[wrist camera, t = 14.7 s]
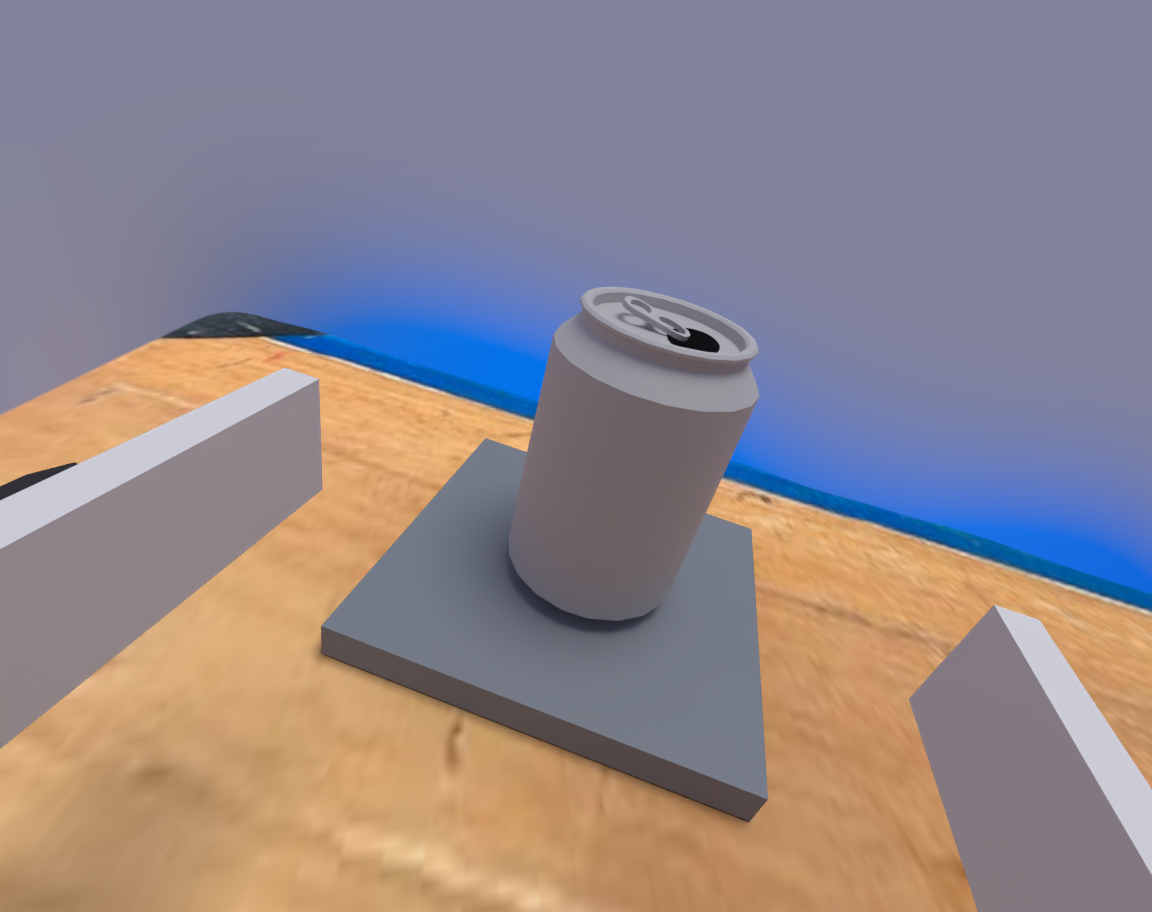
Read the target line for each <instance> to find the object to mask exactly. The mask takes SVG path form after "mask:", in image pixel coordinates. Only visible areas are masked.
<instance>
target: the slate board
mask: <svg viewBox="0 0 1152 912" xmlns="http://www.w3.org/2000/svg"><path fill="white" fill-rule="evenodd" d="M526 456H527V452H524V451H521V450H518V449H515V448H513V447H510V446H507V445H504V444H501V443H498V442H495V441H492V440H489V439H485V440H484V441H483V442H482V443H481V444H480V445H479V447H478V448H477V449H476V450H475V451H474V452H473V453H472V454H471V456H470V457H469V458H468V459H467V460H466V461H465V462H464V464H463V465H462V466H461V467H460V468H459V469H458V470H457V472H456V473H455V474H454V475H453V476H452V477H451V478H450V480H449V481H448V482H447V483H446V484H445V485H444V486H443V488H442V489H441V490H440V491H439V492H438V493H437V494H436V496H435V497H434V498H433V499H432V500H431V501H430V502H429V504H428V505H427V506H426V507H425V508H424V509H423V510H422V512H421V513H420V514H419V515H418V516H417V517H416V518H415V520H414V521H413V522H412V523H411V524H410V525H409V526H408V528H407V529H406V530H405V531H404V532H403V533H402V534H401V536H400V537H399V538H398V539H397V540H396V541H395V542H394V544H393V545H392V546H391V547H390V548H389V549H388V550H387V552H386V553H385V554H384V555H383V556H382V557H381V558H380V560H379V561H378V562H377V563H376V564H375V565H374V566H373V568H372V569H371V570H370V571H369V572H368V573H367V574H366V576H365V577H364V578H363V579H362V580H361V581H360V582H359V584H358V585H357V586H356V587H355V588H354V589H353V590H352V591H351V593H350V594H349V595H348V596H347V597H346V598H345V599H344V601H343V602H342V603H341V604H340V605H339V606H338V607H337V609H336V610H335V611H334V612H333V613H332V614H331V615H330V617H329V618H328V619H327V620H326V621H325V622H324V623H323V625H322V626H321V642H322V654H324V655H327V656H329V657H332V658H335V659H337V660H340V661H342V662H345V663H347V664H350V665H352V666H355V667H357V668H360V669H363V670H365V671H368V672H370V673H373V674H375V675H378V676H380V677H383V678H385V679H388V680H391V681H393V682H396V683H398V684H401V685H403V686H406V687H408V688H411V689H413V690H416V691H419V692H421V693H424V694H426V695H429V696H431V697H434V698H436V699H439V700H441V701H444V702H446V703H449V704H452V705H454V706H457V707H459V708H462V709H464V710H467V711H469V712H472V713H474V714H477V715H480V716H482V717H485V718H487V719H490V720H492V721H495V722H497V723H500V724H502V725H505V726H508V727H510V728H513V729H515V730H518V731H520V732H523V733H525V734H528V735H530V736H533V737H536V738H538V739H541V740H543V741H546V742H548V743H551V744H553V745H556V746H558V747H561V748H563V749H566V750H569V751H571V752H574V753H576V754H579V755H581V756H584V757H586V758H589V759H591V760H594V761H597V762H599V763H602V764H604V765H607V766H609V767H612V768H614V769H617V770H619V771H622V772H625V773H627V774H630V775H632V776H635V777H637V778H640V779H642V780H645V781H647V782H650V783H653V784H655V785H658V786H660V787H663V788H665V789H668V790H670V791H673V792H675V793H678V794H680V795H683V796H686V797H688V798H691V799H693V800H696V801H698V802H701V803H703V804H706V805H708V806H711V807H714V808H716V809H719V810H721V811H724V812H726V813H729V814H731V815H734V816H736V817H739V818H742V819H744V820H747V821H749V822H750V820H751V819H752V818H753V817H754V815H755V814H756V813H757V812H758V811H759V809H760V808H761V807H762V806H763V805H764V803H765V802H766V801H767V800H768V794H767V777H766V761H765V745H764V728H763V712H762V695H761V679H760V663H759V646H758V630H757V613H756V597H755V581H754V564H753V548H752V531H751V529H749V528H746V527H744V526H741V525H738V524H735V523H732V522H729V521H726V520H723V519H720V518H717V517H714V516H711V515H708V514H706V513H705V515H704V518H703V520H702V522H701V524H700V526H699V528H698V531H697V533H696V535H695V537H694V539H693V541H692V544H691V546H690V548H689V550H688V552H687V554H686V557H685V559H684V561H683V563H682V565H681V568H680V570H679V572H678V574H677V576H676V578H675V581H674V583H673V585H672V587H671V589H670V591H669V592H668V594H667V596H666V597H665V599H664V601H663V602H662V604H661V605H659V606H657V607H656V608H654V609H653V610H651V611H650V612H648V613H647V614H645V615H643V616H639V617H634V618H630V619H625V620H620V621H614V620H600V619H589V618H583V617H580V616H577V615H574V614H571V613H568V612H565V611H562V610H561V609H559V608H558V607H556V606H554V605H553V604H551V603H550V602H548V601H546V600H545V599H543V598H542V597H540V596H539V595H537V594H535V592H534V591H533V590H532V589H531V588H530V587H529V586H528V585H527V584H526V583H525V582H524V581H523V580H522V578H521V577H520V576H519V575H518V574H517V572H516V569H515V567H514V565H513V563H512V560H511V558H510V556H509V532H510V527H511V523H512V518H513V514H514V509H515V505H516V500H517V496H518V491H519V487H520V482H521V478H522V473H523V469H524V465H525V460H526Z"/></svg>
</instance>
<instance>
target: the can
mask: <svg viewBox="0 0 1152 912" xmlns="http://www.w3.org/2000/svg"><path fill="white" fill-rule="evenodd" d="M580 302H581V305H582V308H583V310H582V311H581V312H580V313H578V314H577V315H575V316H574V317H572V318H571V319H569V320H568V321H566V322H565V323H563V324H561V325H560V327H559V328H558V329H557V330H556V332H555V333H554V335H553V339H552V344H551V348H550V353H549V357H548V362H547V366H546V371H545V375H544V380H543V384H542V388H541V393H540V397H539V402H538V406H537V411H536V415H535V420H534V424H533V429H532V433H531V438H530V442H529V447H528V451H527V456H526V460H525V465H524V469H523V473H522V478H521V482H520V487H519V491H518V496H517V500H516V505H515V509H514V514H513V518H512V523H511V527H510V532H509V556H510V558H511V560H512V563H513V565H514V567H515V569H516V572H517V574H518V575H519V576H520V577H521V578H522V580H523V581H524V582H525V583H526V584H527V585H528V586H529V587H530V588H531V589H532V590H533V591H534V592H535V594H537V595H539V596H540V597H542V598H543V599H545V600H546V601H548V602H550V603H551V604H553V605H554V606H556V607H558V608H559V609H561V610H562V611H565V612H568V613H571V614H574V615H577V616H580V617H583V618H589V619H600V620H614V621H620V620H625V619H630V618H634V617H639V616H643V615H645V614H647V613H648V612H650V611H651V610H653V609H654V608H656V607H657V606H659V605H661V604H662V602H663V601H664V599H665V597H666V596H667V594H668V592H669V591H670V589H671V587H672V585H673V583H674V581H675V578H676V576H677V574H678V572H679V570H680V568H681V565H682V563H683V561H684V559H685V557H686V554H687V552H688V550H689V548H690V546H691V544H692V541H693V539H694V537H695V535H696V533H697V531H698V528H699V526H700V524H701V522H702V520H703V518H704V515H705V513H706V511H707V509H708V507H709V505H710V502H711V500H712V498H713V496H714V494H715V492H716V489H717V487H718V485H719V483H720V481H721V478H722V476H723V474H724V472H725V470H726V468H727V465H728V463H729V461H730V459H731V457H732V455H733V452H734V450H735V448H736V446H737V444H738V442H739V439H740V437H741V435H742V433H743V431H744V428H745V426H746V424H747V422H748V420H749V417H750V416H751V413H752V411H753V409H754V407H755V404H756V402H757V400H758V398H759V393H758V388H757V385H756V381H755V379H754V376H753V374H752V371H751V369H750V366H749V364H748V363H749V361H751V360H752V359H753V358H754V357H755V356H756V355H757V354H758V352H759V351H758V347H757V344H756V341H755V339H754V338H753V337H752V336H751V335H749V334H748V333H747V332H746V331H745V330H744V329H743V328H741V327H740V326H738V325H736V324H735V323H733V322H732V321H730V320H728V319H726V318H724V317H722V316H720V315H718V314H716V313H714V312H712V311H710V310H707V309H704V308H702V307H699V306H697V305H694V304H691V303H689V302H686V301H683V300H679V299H676V298H672V297H669V296H666V295H662V294H658V293H653V292H649V291H643V290H639V289H630V288H623V287H600V288H596V289H592V290H589V291H587V292H585V294H584V295H583V296H582V297H581V299H580Z"/></svg>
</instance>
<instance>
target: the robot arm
mask: <svg viewBox="0 0 1152 912" xmlns="http://www.w3.org/2000/svg"><path fill="white" fill-rule="evenodd" d="M321 490H322V461H321V429H320V396H319V379H317V378H314V377H311V376H308V375H305V374H302V373H299V372H296V371H293V370H290V369H287V368H283V369H281V370H279V371H277V372H274V373H272V374H270V375H268V376H266V377H264V378H262V379H259V380H257V381H255V382H253V383H251V384H249V385H247V386H244V387H242V388H240V389H238V390H236V391H234V392H232V393H229V394H227V395H225V396H223V397H221V398H219V399H217V400H214V401H212V402H210V403H208V404H206V405H204V406H202V407H199V408H197V409H195V410H193V411H191V412H189V413H187V414H184V415H182V416H180V417H178V418H176V419H174V420H172V421H169V422H167V423H165V424H163V425H161V426H159V427H157V428H154V429H152V430H150V431H148V432H146V433H144V434H142V435H139V436H137V437H135V438H133V439H131V440H129V441H127V442H124V443H122V444H120V445H118V446H116V447H114V448H112V449H109V450H107V451H105V452H103V453H101V454H99V455H97V456H94V457H92V458H90V459H88V460H86V461H84V462H82V463H79V464H77V463H70V464H66V465H63V466H59V467H55V468H51V469H47V470H43V471H39V472H35V473H31V474H27V475H25V476H23V477H20V478H18V479H16V480H14V481H11V482H9V483H7V484H5V485H2V486H0V749H1V748H2V747H3V746H4V745H6V744H7V743H8V742H9V741H11V740H12V739H13V738H14V737H16V736H17V735H18V734H19V733H20V732H22V731H23V730H24V729H25V728H27V727H28V726H29V725H30V724H32V723H33V722H34V721H35V720H37V719H38V718H39V717H40V716H42V715H43V714H44V713H45V712H47V711H48V710H49V709H50V708H52V707H53V706H54V705H55V704H56V703H58V702H59V701H60V700H61V699H63V698H64V697H65V696H66V695H68V694H69V693H70V692H71V691H73V690H74V689H75V688H76V687H78V686H79V685H80V684H81V683H83V682H84V681H85V680H86V679H88V678H89V677H90V676H91V675H92V674H94V673H95V672H96V671H97V670H99V669H100V668H101V667H102V666H104V665H105V664H106V663H107V662H109V661H110V660H111V659H112V658H114V657H115V656H116V655H117V654H119V653H120V652H121V651H122V650H124V649H125V648H126V647H127V646H128V645H130V644H131V643H132V642H133V641H135V640H136V639H137V638H138V637H140V636H141V635H142V634H143V633H145V632H146V631H147V630H148V629H150V628H151V627H152V626H153V625H155V624H156V623H157V622H158V621H160V620H161V619H162V618H163V617H164V616H166V615H167V614H168V613H169V612H171V611H172V610H173V609H174V608H176V607H177V606H178V605H179V604H181V603H182V602H183V601H184V600H186V599H187V598H188V597H189V596H191V595H192V594H193V593H194V592H196V591H197V590H198V589H199V588H200V587H202V586H203V585H204V584H205V583H207V582H208V581H209V580H210V579H212V578H213V577H214V576H215V575H217V574H218V573H219V572H220V571H222V570H223V569H224V568H225V567H227V566H228V565H229V564H230V563H232V562H233V561H234V560H235V559H236V558H238V557H239V556H240V555H241V554H243V553H244V552H245V551H246V550H248V549H249V548H250V547H251V546H253V545H254V544H255V543H256V542H258V541H259V540H260V539H261V538H263V537H264V536H265V535H266V534H268V533H269V532H270V531H271V530H272V529H274V528H275V527H276V526H277V525H279V524H280V523H281V522H282V521H284V520H285V519H286V518H287V517H289V516H290V515H291V514H292V513H294V512H295V511H296V510H297V509H299V508H300V507H301V506H302V505H304V504H305V503H306V502H307V501H308V500H310V499H311V498H312V497H313V496H315V495H316V494H317V493H318V492H320V491H321ZM909 701H910V704H911V707H912V710H913V713H914V716H915V719H916V722H917V725H918V728H919V732H920V735H921V738H922V741H923V744H924V747H925V750H926V753H927V756H928V759H929V762H930V765H931V769H932V772H933V775H934V778H935V781H936V784H937V787H938V790H939V793H940V796H941V799H942V802H943V805H944V809H945V812H946V815H947V818H948V821H949V824H950V827H951V830H952V833H953V836H954V839H955V842H956V846H957V849H958V852H959V855H960V858H961V861H962V864H963V867H964V870H965V873H966V876H967V879H968V883H969V886H970V889H971V892H972V895H973V898H974V901H975V904H976V907H977V910H978V912H1152V789H1151V788H1150V786H1149V784H1148V783H1147V781H1146V780H1145V778H1144V777H1143V775H1142V774H1141V772H1140V771H1139V769H1138V768H1137V766H1136V765H1135V763H1134V762H1133V760H1132V759H1131V757H1130V756H1129V754H1128V753H1127V751H1126V750H1125V748H1124V747H1123V745H1122V744H1121V742H1120V741H1119V739H1118V738H1117V736H1116V735H1115V733H1114V732H1113V730H1112V729H1111V727H1110V726H1109V724H1108V723H1107V721H1106V720H1105V718H1104V717H1103V715H1102V714H1101V712H1100V711H1099V709H1098V708H1097V706H1096V705H1095V703H1094V702H1093V700H1092V698H1091V697H1090V695H1089V694H1088V692H1087V691H1086V689H1085V688H1084V686H1083V685H1082V683H1081V682H1080V680H1079V679H1078V677H1077V676H1076V674H1075V673H1074V671H1073V670H1072V668H1071V667H1070V665H1069V664H1068V662H1067V661H1066V659H1065V658H1064V656H1063V655H1062V653H1061V652H1060V650H1059V649H1058V647H1057V646H1056V644H1055V643H1054V641H1053V640H1052V638H1051V637H1050V635H1049V634H1048V632H1047V631H1046V629H1045V628H1044V626H1043V625H1042V623H1041V622H1040V620H1038V619H1035V618H1032V617H1029V616H1026V615H1023V614H1020V613H1017V612H1014V611H1011V610H1008V609H1005V608H1002V607H999V606H996V605H994V606H993V607H992V608H991V609H990V610H989V611H988V612H987V613H986V614H985V616H984V617H983V618H982V619H981V620H980V621H979V622H978V623H977V624H976V625H975V627H974V628H973V629H972V630H971V631H970V632H969V633H968V634H967V635H966V636H965V638H964V639H963V640H962V641H961V642H960V643H959V644H958V645H957V646H956V648H955V649H954V650H953V651H952V652H951V653H950V654H949V655H948V656H947V657H946V659H945V660H944V661H943V662H942V663H941V664H940V665H939V666H938V667H937V668H936V670H935V671H934V672H933V673H932V674H931V675H930V676H929V677H928V678H927V679H926V681H925V682H924V683H923V684H922V685H921V686H920V687H919V688H918V689H917V690H916V692H915V693H914V694H913V695H912V696H911V697H910V698H909Z"/></svg>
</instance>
